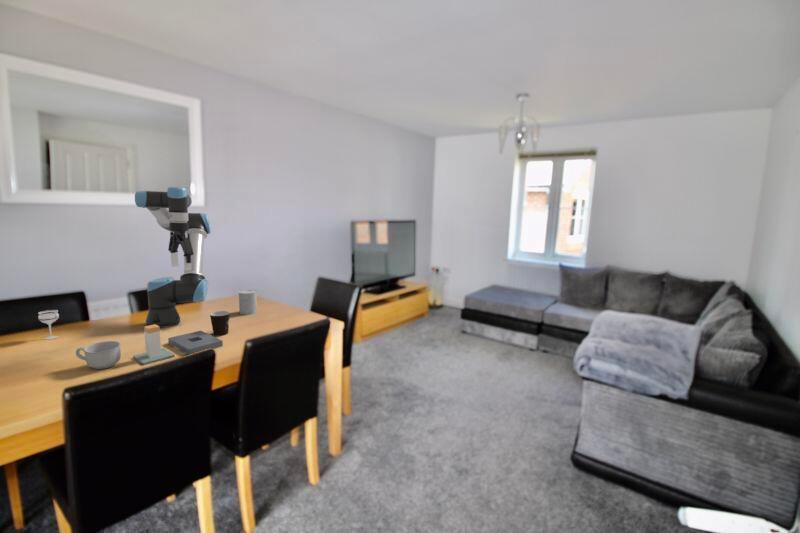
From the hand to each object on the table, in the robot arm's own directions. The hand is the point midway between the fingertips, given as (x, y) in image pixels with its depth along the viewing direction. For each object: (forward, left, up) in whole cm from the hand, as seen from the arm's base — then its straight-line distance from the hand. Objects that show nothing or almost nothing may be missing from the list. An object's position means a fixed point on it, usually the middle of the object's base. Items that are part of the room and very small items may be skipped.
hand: (181, 268), depth 174 cm
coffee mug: (+10, +13, -32) cm, 36 cm away
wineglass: (-37, -41, -32) cm, 64 cm away
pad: (+19, -20, -32) cm, 42 cm away
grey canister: (-13, +40, -32) cm, 53 cm away
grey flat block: (+17, -3, -32) cm, 36 cm away
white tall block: (+19, -20, -31) cm, 41 cm away
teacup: (+13, -36, -32) cm, 50 cm away
